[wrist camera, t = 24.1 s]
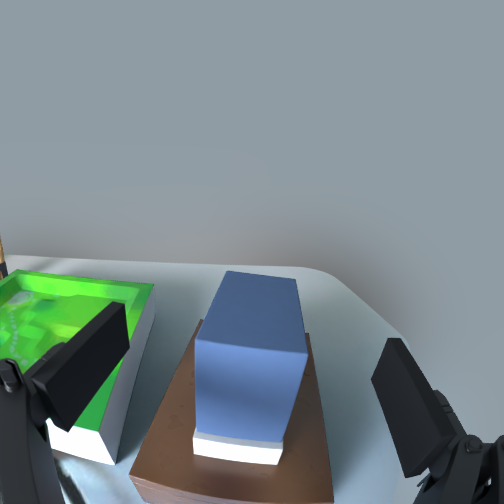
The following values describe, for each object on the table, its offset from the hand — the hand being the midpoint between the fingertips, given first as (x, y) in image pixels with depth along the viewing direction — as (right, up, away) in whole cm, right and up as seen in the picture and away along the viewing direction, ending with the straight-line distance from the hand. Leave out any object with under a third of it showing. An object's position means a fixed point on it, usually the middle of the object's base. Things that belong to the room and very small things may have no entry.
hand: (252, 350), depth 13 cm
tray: (-25, -8, +12) cm, 29 cm away
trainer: (-1, -6, +8) cm, 10 cm away
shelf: (-1, -11, +9) cm, 14 cm away
